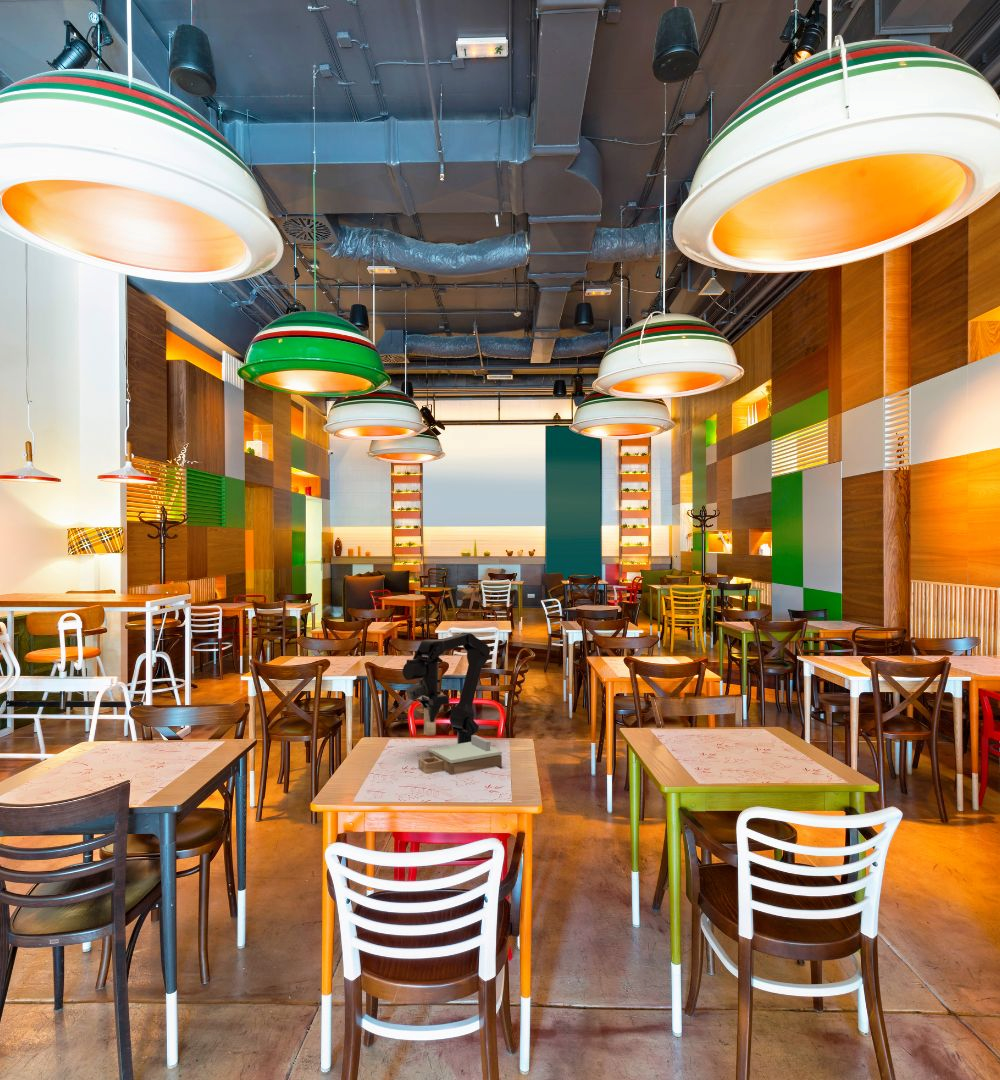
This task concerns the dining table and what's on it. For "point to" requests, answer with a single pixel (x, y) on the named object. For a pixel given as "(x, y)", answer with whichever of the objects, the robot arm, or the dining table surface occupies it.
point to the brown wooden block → (428, 723)
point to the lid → (466, 750)
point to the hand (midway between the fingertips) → (429, 721)
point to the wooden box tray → (457, 764)
